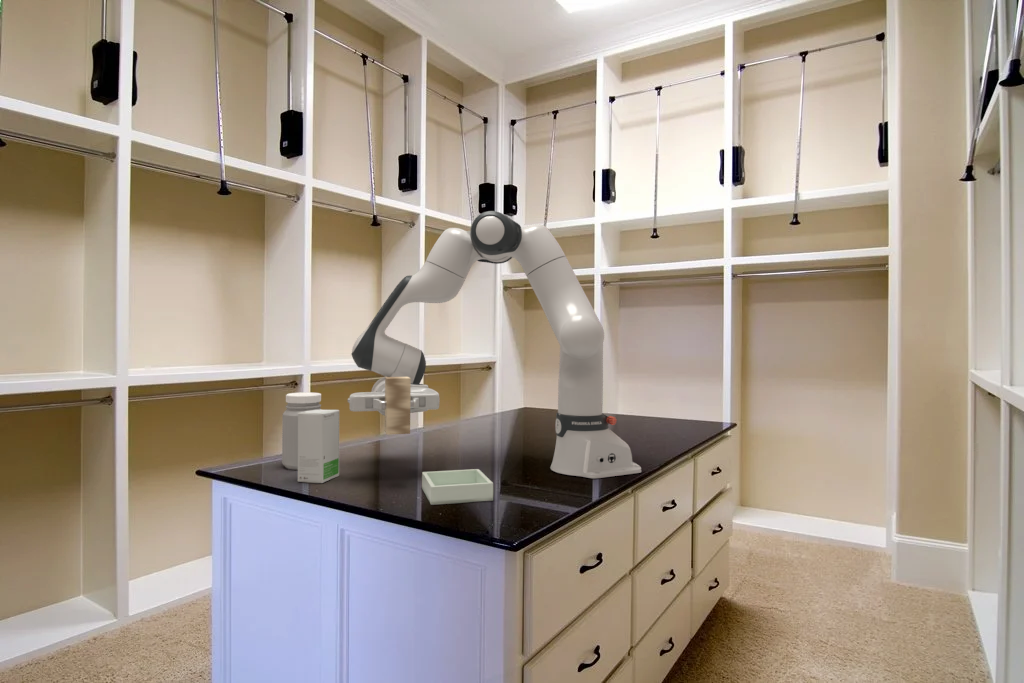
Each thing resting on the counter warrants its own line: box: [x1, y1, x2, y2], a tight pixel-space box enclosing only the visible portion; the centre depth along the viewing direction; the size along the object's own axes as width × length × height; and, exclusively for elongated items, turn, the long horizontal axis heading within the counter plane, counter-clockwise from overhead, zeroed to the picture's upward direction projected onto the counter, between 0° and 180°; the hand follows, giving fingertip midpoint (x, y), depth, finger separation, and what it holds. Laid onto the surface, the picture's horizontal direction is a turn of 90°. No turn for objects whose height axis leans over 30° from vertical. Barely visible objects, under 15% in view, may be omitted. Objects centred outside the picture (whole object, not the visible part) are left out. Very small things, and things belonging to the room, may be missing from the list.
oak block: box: [384, 376, 411, 436], centre depth 128 cm, size 5×5×12 cm
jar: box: [281, 391, 323, 471], centre depth 145 cm, size 10×10×18 cm
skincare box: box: [297, 409, 340, 484], centre depth 133 cm, size 8×7×16 cm
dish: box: [421, 468, 494, 506], centre depth 122 cm, size 13×13×4 cm
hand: (398, 405), depth 127 cm, fingers closed on oak block, 5 cm apart
